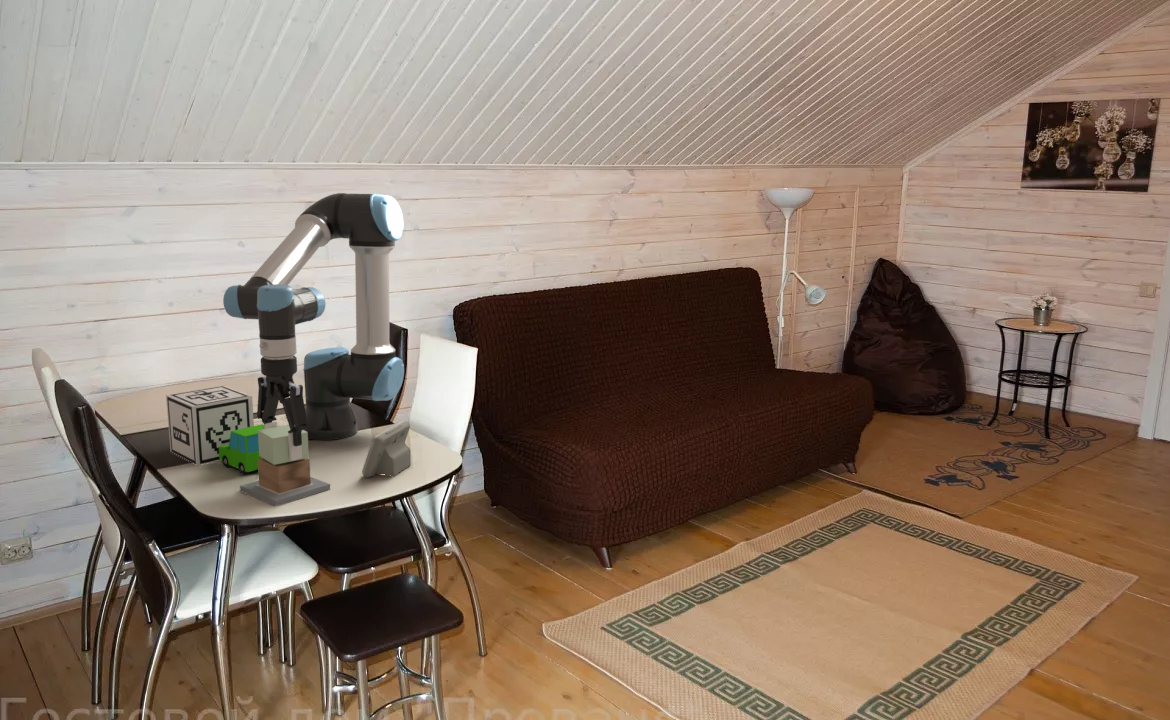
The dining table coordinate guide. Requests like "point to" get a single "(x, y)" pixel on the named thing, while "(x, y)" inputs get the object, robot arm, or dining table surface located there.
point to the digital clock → (388, 452)
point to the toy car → (242, 449)
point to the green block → (279, 444)
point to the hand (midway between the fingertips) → (283, 454)
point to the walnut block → (284, 475)
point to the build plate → (287, 496)
